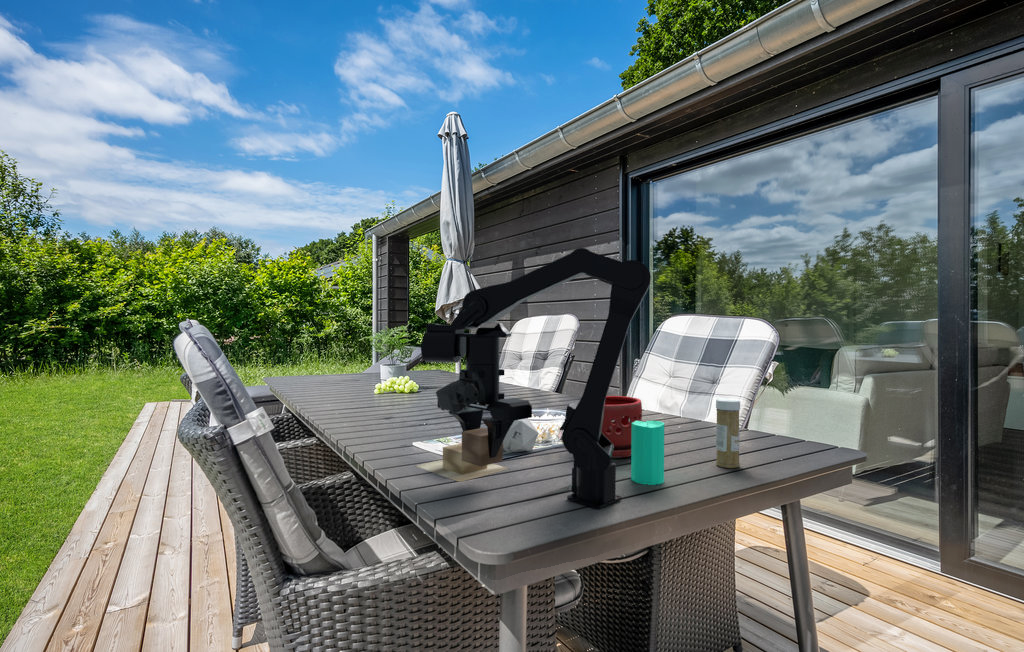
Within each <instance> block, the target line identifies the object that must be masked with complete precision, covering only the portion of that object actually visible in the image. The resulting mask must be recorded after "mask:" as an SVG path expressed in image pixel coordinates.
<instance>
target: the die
mask: <svg viewBox="0 0 1024 652" xmlns="http://www.w3.org/2000/svg"><path fill="white" fill-rule="evenodd" d="M539 434H540V432H539V431H538V430H537V429H536V427H535V426H534V425H533V423H532V422H531V420H530V418H526V419H520V420H515V421H514V422H513V424H512V425H511V427H510V429H509V431H508V432H507V434H506V436H505V438H504V440H503V451H505V452H509V453H510V452H511V453H521V452H530V451H533V450H534V446H535V444H536V441H537V440H538V436H539Z"/></svg>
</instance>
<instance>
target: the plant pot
mask: <svg viewBox="0 0 1024 652" xmlns="http://www.w3.org/2000/svg"><path fill="white" fill-rule="evenodd" d="M642 405H643V404H642V400H641V399H640V398H637V397H633V396H623V395H607V396H606V399H605V407H604V417H603V425H602V433H603V434H604V435H605V436H606V437H607V438H608V439H609V441H610V442H611V443H612V444H613V445H614V448H613V452H612V456H611V459H621V458H628V457H631V431H632V423H633V422H635V421H642V418H643V406H642Z"/></svg>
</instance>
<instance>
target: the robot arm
mask: <svg viewBox="0 0 1024 652" xmlns="http://www.w3.org/2000/svg"><path fill="white" fill-rule="evenodd" d="M583 275H585V276H588V277H591V278H593V279H596V280H598V281H600V282H602V283H606V284H608V285H611V288H610V294H609V295H610V296H609V305H608V306H609V307H608V315H607V318H606V322H605V324H604V328H603V330H602V334H601V338H600V339H599V344H598V346H597V350H596V353H595V356H594V359H593V362H592V366H591V368H590V372H589V374H588V378H587V381H586V384H585V387H584V390H583V394H582V396H581V398H580V399H579V402H577V401H575V400H572V401H570V403H569V404H568V405H567V406H566V411H565V417H564V422H563V424H562V425H561V426H560V427H559V431H562V436H561V442H562V444H563V447H564V448H565V449H566V451H567V452H568V453H569V454H572V457H573V466H572V468H571V494H568V495H567V496H566V499H567V500H569V501H573V502H576V503H578V504H581V505H584V506H588V507H591V508H594V509H602V508H604V507H606V506H610V505H611V504H615V503H617V502H619V501H621V500H622V496H621V495H618V494H616V486H617V485H616V482H617V481H616V479H617V478H616V477H617V475H616V474H617V473H616V472H617V468H616V467H617V465H616V463H614V462H612V461H611V460H612V458H611V456H612V452H613V448H614V445H613V444H612V443H611V442H610V441H609V439H608V438H607V437H606V436H605V435H604V434H603V433H602V425H603V417H604V407H605V399H606V396H608V392H609V390H610V387H611V384H612V383H611V382H612V379H613V377H614V374H615V371H616V368H617V364H618V363H619V359H620V356H621V352H622V350H623V346H624V343H625V340H626V337H627V334H628V332H629V327H630V324H631V322H632V320H633V318H634V316H635V314H636V312H637V311H638V309H639V308H640V306H641V305H642V302H643V300H644V298H645V296H646V294H647V293H648V290H649V288H650V286H651V279H652V278H651V271H650V270H649V267H647V266H646V265H645V264H644V263H643V262H642V261H639V260H635V259H630V260H625V261H621V260H620V261H619V260H617V259H614V258H612V257H609V256H606V255H603V254H600V253H596V252H594V251H593V252H592V251H591V250H589V249H587V248H584V247H580V248H576V249H574V250H573V251H572V252H570V253H569V254H566V255H564V256H562V257H560V258H557V259H556V260H553V261H552V262H549V263H547V264H545V265H542V266H541V267H538V268H536V269H534V270H531V271H529V272H528V273H526V274H523V275H522V276H519V277H517V278H515V279H512V280H510V281H506V282H504V283H498V284H492V285H488V286H485V287H480V288H477V289H473V290H471V291H469V292H468V293H466V295H465V296H464V298H463V301H462V305H461V309H460V311H459V312H458V313H457V315H456V316H455V317H454V319H453V321H452V322H451V323H450V324H439V323H427V324H426V330H425V332H424V333H423V335H422V340H421V342H420V353H421V357H422V359H423V361H424V362H426V363H444V364H445V363H448V364H449V363H452V364H453V363H454V364H455V363H456V364H458V363H459V362H460V361H461V358H464V357H465V368H464V369H460V372H459V373H458V374H459V375H458V376H459V378H458V379H457V380H456V381H455V380H454V381H453V382H449V383H448V384H447V385H444V386H442V387H441V388H439V389H438V390H436V391H435V395H436V398H437V408H438V409H440V410H441V411H447V412H448V414H449V415H450V416H453V417H454V418H455V419H456V420H457V421H458V422H459V424H460V428H461V429H462V431H468V430H473V429H479V428H481V425H482V422H483V424H484V425H485V426H486V428H488V447H489V456H490V458H494V457H496V455H497V453H498V451H499V449H500V447H501V445H502V443H503V440H504V438H505V436H506V434H507V432H508V431H509V429H510V427H511V425H512V424H513V422H514V421H515V420H520V419H526V418H528V419H530V418H533V405H532V403H531V402H530V401H529V400H528V399H522V398H516V397H515V398H514V397H512V398H505V393H504V392H500V377H501V376H505V369H504V368H500V338H510V337H512V332H511V331H510V330H508V329H507V328H506V327H505V326H504V324H503V323H502V322H500V323H497V324H496V325H495V326H493V327H485V326H484V327H481V326H482V325H489V324H493V323H495V322H497V321H499V320H500V319H501V318H503V317H504V316H506V315H507V314H509V313H511V311H512V310H514V309H515V308H516V307H517V306H518V305H520V304H521V303H523V302H525V301H528V300H530V299H532V298H534V297H537V296H538V295H540V294H543V293H545V292H547V291H550V290H553V289H554V288H557V287H558V286H560V285H563V284H565V283H567V282H569V281H571V280H574V279H576V278H579V277H580V276H583ZM475 329H476V332H475V333H473V332H472V333H469V332H468V333H467V332H465V330H475ZM484 411H486V412H489V415H490V416H489V417H486V418H483V414H484Z"/></svg>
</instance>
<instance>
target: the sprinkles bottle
mask: <svg viewBox="0 0 1024 652" xmlns="http://www.w3.org/2000/svg"><path fill="white" fill-rule="evenodd" d="M715 408H716V410H715V411H716V431H715V433H716V434H715V436H716V439H715V443H716V446H715V447H716V460H715V465H717V466H718V467H721V468H725V469H737V468H739V467H740V465H741V463H740V410H741V401H740V399H735V398H728V397H725V398H724V397H723V398H722V397H721V398H716V400H715Z"/></svg>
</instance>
